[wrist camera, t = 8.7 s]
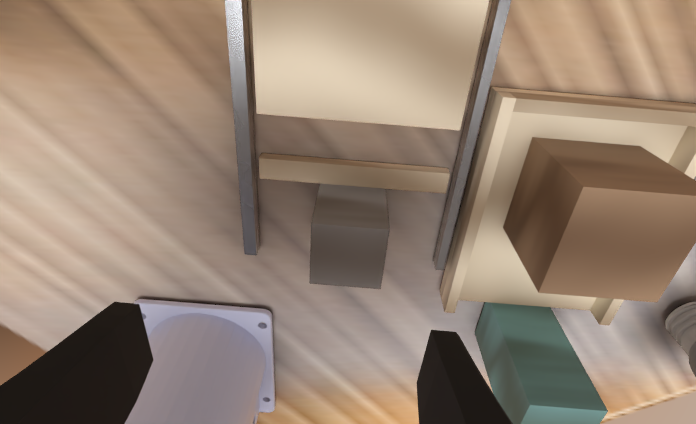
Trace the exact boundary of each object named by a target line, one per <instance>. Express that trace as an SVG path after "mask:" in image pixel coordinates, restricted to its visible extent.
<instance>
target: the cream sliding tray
mask: <svg viewBox="0 0 696 424" xmlns="http://www.w3.org/2000/svg"><path fill="white" fill-rule="evenodd" d="M532 137H537V138H549V139H561V140H574V141H586V142H598V143H610V144H623V145H635V146H641V147H642V148H644V149H646V150H647V151H649V152H651V153H652V154H654V155H655V156H657V157H659V158H660V159H662V160H663V161H665V162H667V163H668V164H670V165H671V166H673V167H675V168H676V169H678V170H679V171H681V172H683V173H684V174H686V175H687V176H689V177H691V178H692V179H694V178H695V176H696V104H694V103H682V102H670V101H657V100H645V99H633V98H621V97H609V96H597V95H585V94H572V93H560V92H548V91H536V90H524V89H512V88H500V87H491V90H490V94H489V98H488V102H487V106H486V110H485V114H484V118H483V122H482V126H481V130H480V134H479V137H478V141H477V145H476V149H475V153H474V157H473V161H472V165H471V169H470V173H469V177H468V181H467V185H466V189H465V193H464V197H463V201H462V205H461V209H460V213H459V216H458V220H457V224H456V228H455V232H454V236H453V240H452V244H451V248H450V252H449V256H448V260H447V264H446V268H445V272H444V276H443V280H442V284H441V288H440V295H441V299H442V303H443V307H444V312H448V313H455V309H456V306H457V302H458V300H465V301H478V302H485V304H484V307H483V310H482V313H481V316H480V319H479V322H478V325H477V328H476V331H475V335H476V338H477V342H478V345H479V348H480V351H481V355H482V358H483V361H484V364H485V368H486V371H487V374H488V378H489V381H490V384H491V387H492V391H493V394H494V396H495V397H496V399H497V400H498V402H499V404H500V405H501V407H502V408H503V410H504V411H505V413H506V414H507V416H508V417H509V419H510V420H511V422H512V423H513V424H600V422H601V421H602V419H603V418H604V416H605V415H606V413H607V412H608V410H607V409H606V407H605V405H604V403H603V401H602V400H601V398H600V396H599V394H598V392H597V391H596V389H595V387H594V385H593V383H592V382H591V380H590V378H589V376H588V374H587V373H586V371H585V369H584V367H583V365H582V364H581V362H580V360H579V358H578V356H577V355H576V353H575V351H574V349H573V347H572V346H571V344H570V342H569V340H568V338H567V337H566V335H565V333H564V331H563V329H562V328H561V326H560V324H559V322H558V320H557V319H556V317H555V315H554V313H553V311H552V310H551V308H550V307H553V308H566V309H578V310H590V311H591V313H592V314H593V316H594V317H595V319H596V320H597V322H598V323H599V325H610V323H611V321H612V320H613V318H614V316H615V314H616V313H617V311H618V309H619V307H620V306H621V304H622V302H623V301H624V300H621V299H609V298H596V297H584V296H571V295H559V294H546V293H538V291H537V289H536V288H535V286H534V284H533V282H532V280H531V278H530V277H529V275H528V273H527V271H526V269H525V267H524V266H523V264H522V262H521V260H520V258H519V256H518V254H517V253H516V251H515V249H514V247H513V245H512V243H511V242H510V240H509V238H508V236H507V234H506V232H505V231H504V229H503V225H504V222H505V219H506V216H507V213H508V210H509V207H510V204H511V201H512V198H513V195H514V192H515V189H516V186H517V183H518V179H519V176H520V173H521V170H522V167H523V164H524V161H525V158H526V155H527V152H528V149H529V146H530V143H531V140H532Z"/></svg>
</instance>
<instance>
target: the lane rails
mask: <svg viewBox="0 0 696 424" xmlns="http://www.w3.org/2000/svg"><path fill="white" fill-rule="evenodd" d="M510 3H511V0H493V2H492V7H491V11H490V15H489V20H488V24H487V28H486V33H485V37H484V42H483V46H482V50H481V55H480V59H479V63H478V68H477V72H476V76H475V81H474V85H473V89H472V94H471V98H470V102H469V107H468V111H467V116H466V120H465V124H464V129H463V133H462V137H461V142H460V146H459V150H458V155H457V159H456V163H455V168H454V172H453V176H452V181H451V185H450V189H449V194H448V198H447V203H446V207H445V211H444V216H443V220H442V224H441V229H440V233H439V237H438V242H437V246H436V250H435V255H434V259H433V261H434V265H435V269H436V270H444V266H445V262H446V258H447V254H448V250H449V246H450V242H451V238H452V234H453V230H454V226H455V222H456V218H457V214H458V210H459V206H460V202H461V198H462V194H463V190H464V186H465V182H466V179H467V175H468V171H469V167H470V163H471V159H472V155H473V151H474V147H475V143H476V139H477V135H478V131H479V127H480V123H481V119H482V115H483V111H484V107H485V103H486V99H487V95H488V91H489V87H490V83H491V79H492V75H493V71H494V67H495V63H496V59H497V55H498V51H499V47H500V43H501V39H502V35H503V31H504V27H505V23H506V19H507V15H508V11H509V7H510ZM225 10H226V22H227V35H228V48H229V61H230V73H231V86H232V99H233V112H234V124H235V137H236V150H237V163H238V175H239V188H240V201H241V214H242V227H243V239H244V252H245V254H247V255H257V253H258V250H259V248H260V234H259V215H258V196H257V177H256V158H255V139H254V120H253V101H252V82H251V63H250V44H249V25H248V6H247V0H225ZM695 179H696V176H695V178H694V180H695Z"/></svg>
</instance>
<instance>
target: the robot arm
mask: <svg viewBox="0 0 696 424" xmlns="http://www.w3.org/2000/svg"><path fill="white" fill-rule="evenodd" d="M261 322H263V323H265V324H263V323H261ZM417 395H418V412H419V424H513V423H512V422H511V420H510V419H509V417H508V416H507V414H506V413H505V411H504V410H503V408H502V407H501V405H500V404H499V402H498V400H497V399H496V397H495V396H494V394H493V393H492V391H491V389H490V388H489V386H488V385H487V383H486V381H485V380H484V378H483V376H482V375H481V373H480V371H479V370H478V368H477V366H476V365H475V363H474V361H473V360H472V358H471V356H470V354H469V353H468V351H467V349H466V347H465V346H464V344H463V342H462V340H461V339H460V337H459V335H458V334H457V333H456V332H449V331H438V330H431V333H430V336H429V340H428V344H427V347H426V351H425V355H424V358H423V362H422V365H421V369H420V373H419V376H418V380H417ZM274 409H275V380H274V353H273V327H272V314H271V312H270V311H268V310H267V309H261V308H248V307H235V306H223V305H210V304H198V303H185V302H173V301H160V300H147V299H137V300H135V302H134V303H133V304H132V303H120V302H114V303H112V304H111V305H110V306H108V307H107V308H106V309H104V310H103V311H101V312H100V313H99V314H97V315H96V316H95V317H93V318H92V319H91V320H89V321H88V322H87V323H85V324H84V325H83V326H82V327H80V328H79V329H78V330H76V331H75V332H74V333H72V334H71V335H70V336H68V337H67V338H66V339H64V340H63V341H62V342H60V343H59V344H58V345H56V346H55V347H54V348H52V349H51V350H49V351H48V352H47V353H45V354H44V355H43V356H41V357H40V358H39V359H37V360H36V361H35V362H33V363H32V364H31V365H29V366H28V367H26V368H25V369H24V370H22V371H21V372H20V373H18V374H17V375H15V376H14V377H12V378H11V379H9V380H8V381H7V382H5V383H4V384H2V385H1V386H0V424H256V423H257V419H258V414H259V412H267V413H268V412H272V411H274Z"/></svg>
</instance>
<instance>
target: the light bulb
mask: <svg viewBox="0 0 696 424" xmlns="http://www.w3.org/2000/svg"><path fill="white" fill-rule="evenodd" d="M665 327H666V329H667V331H668V332H669V333H670V334H671V335H672V337H673V338H674V339H675V340H677V342H678V344H679V345H680V346H682V348H683V350H684V351H685V352H686V353H687V354H688V356H689V364H690V367H691V369H692V371H693V373H694V375H695V376H696V301H695V302H690V303H687V304H684V305H682V306H680V307H678V308H677V309H675V310H674V311H673V312H672V313H670V315H669V316H668V317H667V319H666V322H665Z"/></svg>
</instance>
